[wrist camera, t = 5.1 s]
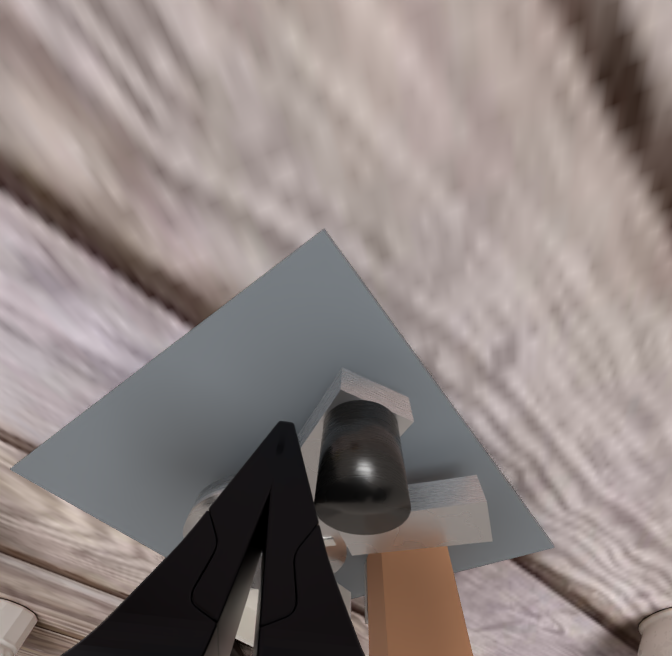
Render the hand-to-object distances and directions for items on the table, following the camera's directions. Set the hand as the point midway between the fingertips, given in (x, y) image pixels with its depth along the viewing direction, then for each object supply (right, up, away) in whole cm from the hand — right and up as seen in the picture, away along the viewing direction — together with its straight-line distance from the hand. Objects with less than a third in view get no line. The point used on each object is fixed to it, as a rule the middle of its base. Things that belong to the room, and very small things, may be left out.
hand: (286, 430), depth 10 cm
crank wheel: (+1, -4, +5) cm, 6 cm away
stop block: (+6, -11, +10) cm, 16 cm away
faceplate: (-1, -7, +9) cm, 11 cm away
